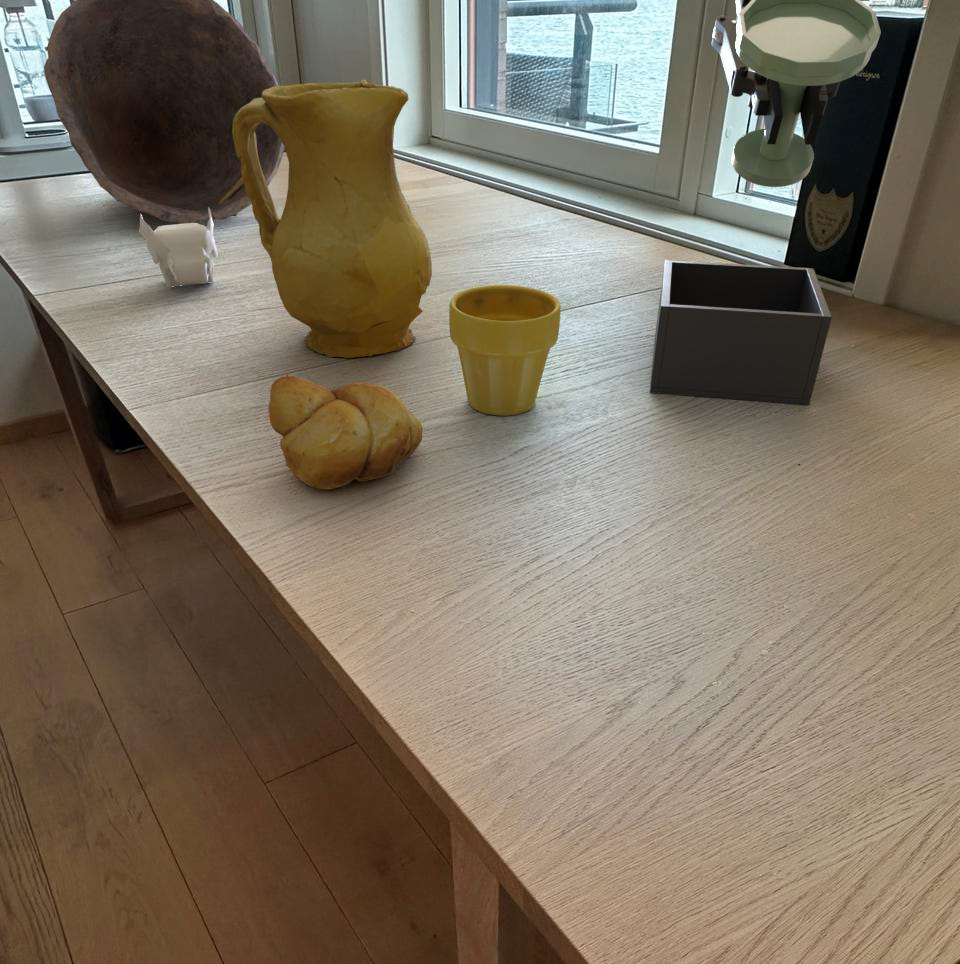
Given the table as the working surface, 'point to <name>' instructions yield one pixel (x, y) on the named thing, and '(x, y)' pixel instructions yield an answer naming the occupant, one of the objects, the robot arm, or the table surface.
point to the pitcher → (338, 215)
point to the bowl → (160, 102)
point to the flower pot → (503, 344)
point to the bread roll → (341, 430)
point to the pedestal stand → (797, 72)
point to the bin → (739, 332)
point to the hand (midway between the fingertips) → (794, 130)
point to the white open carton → (182, 251)
